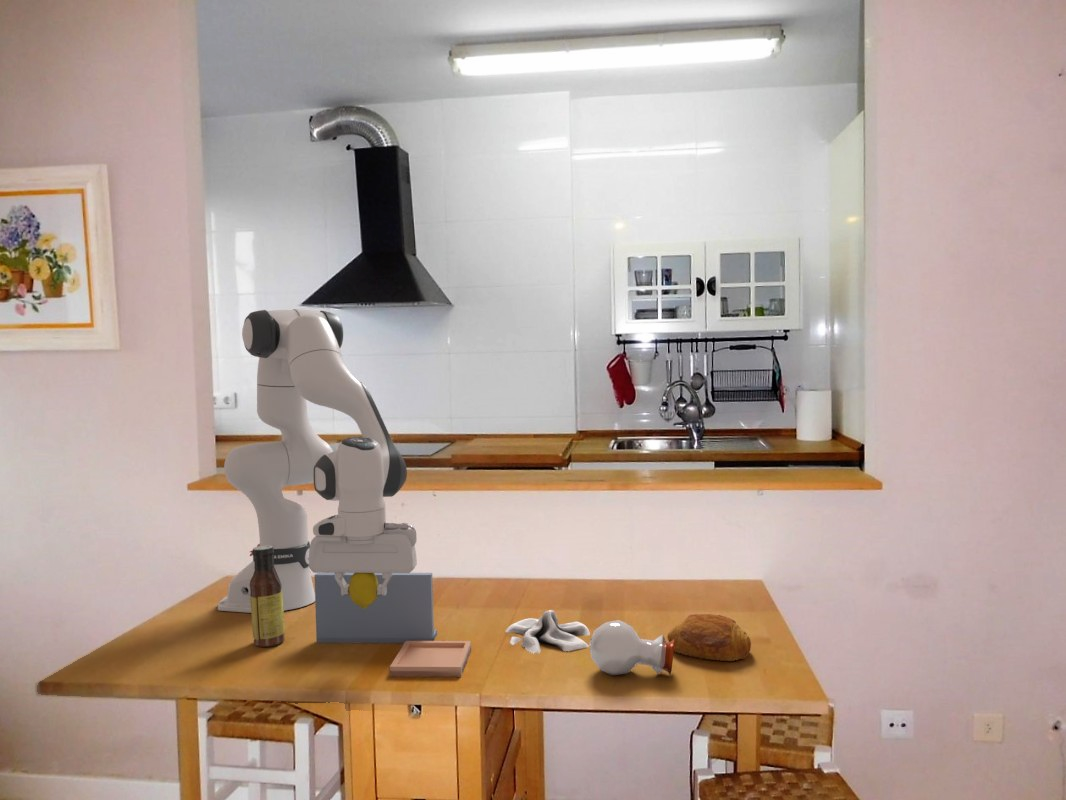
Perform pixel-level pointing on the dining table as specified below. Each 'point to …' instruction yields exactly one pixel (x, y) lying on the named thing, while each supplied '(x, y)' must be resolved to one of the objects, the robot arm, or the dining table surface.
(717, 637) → the croissant
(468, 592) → the dining table surface
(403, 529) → the robot arm
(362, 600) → the lemon
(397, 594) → the screen
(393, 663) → the dish
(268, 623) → the sauce bottle
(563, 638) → the cloth
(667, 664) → the potion bottle
